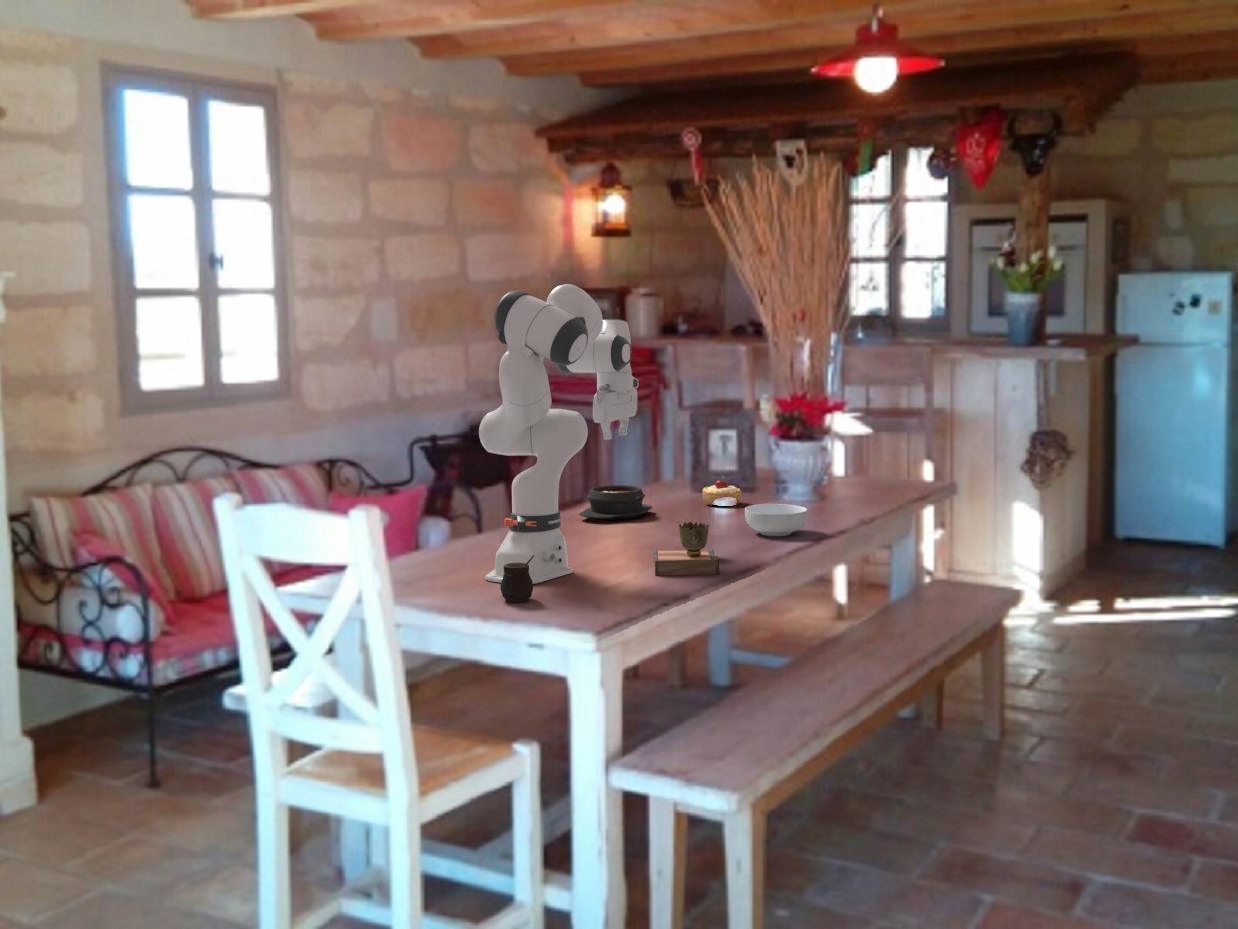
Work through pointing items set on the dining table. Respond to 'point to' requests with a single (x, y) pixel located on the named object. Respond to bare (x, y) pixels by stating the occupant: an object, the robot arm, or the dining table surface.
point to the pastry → (720, 492)
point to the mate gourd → (516, 582)
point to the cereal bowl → (775, 518)
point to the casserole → (615, 502)
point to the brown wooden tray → (685, 563)
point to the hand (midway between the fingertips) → (615, 437)
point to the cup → (693, 537)
